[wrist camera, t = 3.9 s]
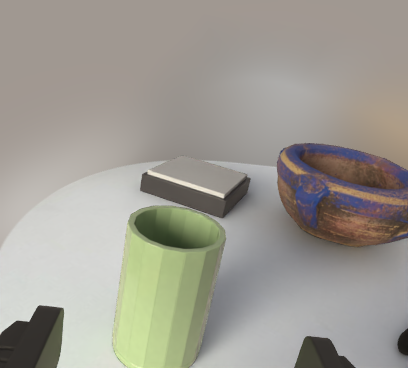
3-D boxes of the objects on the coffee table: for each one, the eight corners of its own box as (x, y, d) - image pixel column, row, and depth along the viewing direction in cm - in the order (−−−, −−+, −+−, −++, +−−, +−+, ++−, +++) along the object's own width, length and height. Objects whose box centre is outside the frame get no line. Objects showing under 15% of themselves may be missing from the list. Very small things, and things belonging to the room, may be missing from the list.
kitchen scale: (139, 190, 51) (142, 169, 50) (177, 171, 62) (180, 153, 61) (222, 218, 48) (227, 196, 47) (247, 192, 59) (251, 174, 58)
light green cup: (93, 351, 25) (107, 227, 22) (141, 302, 30) (157, 197, 27) (176, 393, 23) (204, 264, 20) (211, 333, 28) (237, 224, 25)
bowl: (263, 246, 43) (286, 162, 39) (263, 193, 60) (280, 131, 56) (426, 286, 41) (464, 202, 38) (379, 220, 58) (403, 158, 55)
